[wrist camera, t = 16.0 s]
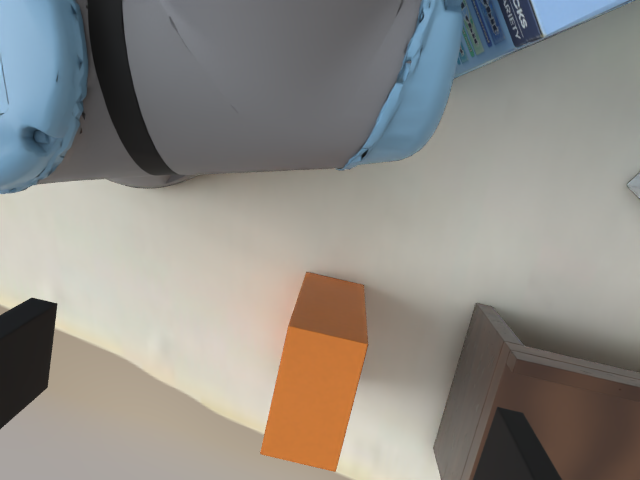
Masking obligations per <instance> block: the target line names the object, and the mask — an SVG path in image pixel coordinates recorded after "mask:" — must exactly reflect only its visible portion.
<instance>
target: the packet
mask: <svg viewBox="0 0 640 480" xmlns="http://www.w3.org/2000/svg"><path fill="white" fill-rule="evenodd" d="M367 347H368V336H367V322H366V308H365V294H364V285H361V284H357V283H353V282H348V281H344V280H340V279H335V278H331V277H327V276H322V275H318V274H314V273H309V272H306V275H305V278H304V281H303V284H302V287H301V290H300V293H299V296H298V299H297V302H296V305H295V308H294V311H293V314H292V317H291V320H290V323H289V326H288V330H287V335H286V339H285V344H284V348H283V353H282V357H281V362H280V366H279V371H278V375H277V380H276V384H275V389H274V393H273V398H272V403H271V407H270V412H269V416H268V421H267V425H266V430H265V434H264V439H263V443H262V448H261V452H260V453H261V454H262V455H266V456H270V457H275V458H279V459H283V460H288V461H292V462H296V463H300V464H304V465H309V466H313V467H317V468H322V469H326V470H330V471H334V472H335V471H336V468H337V465H338V461H339V457H340V453H341V449H342V445H343V441H344V437H345V433H346V429H347V425H348V422H349V418H350V414H351V410H352V406H353V402H354V398H355V394H356V390H357V386H358V382H359V379H360V375H361V371H362V367H363V363H364V359H365V355H366V351H367Z"/></svg>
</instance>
